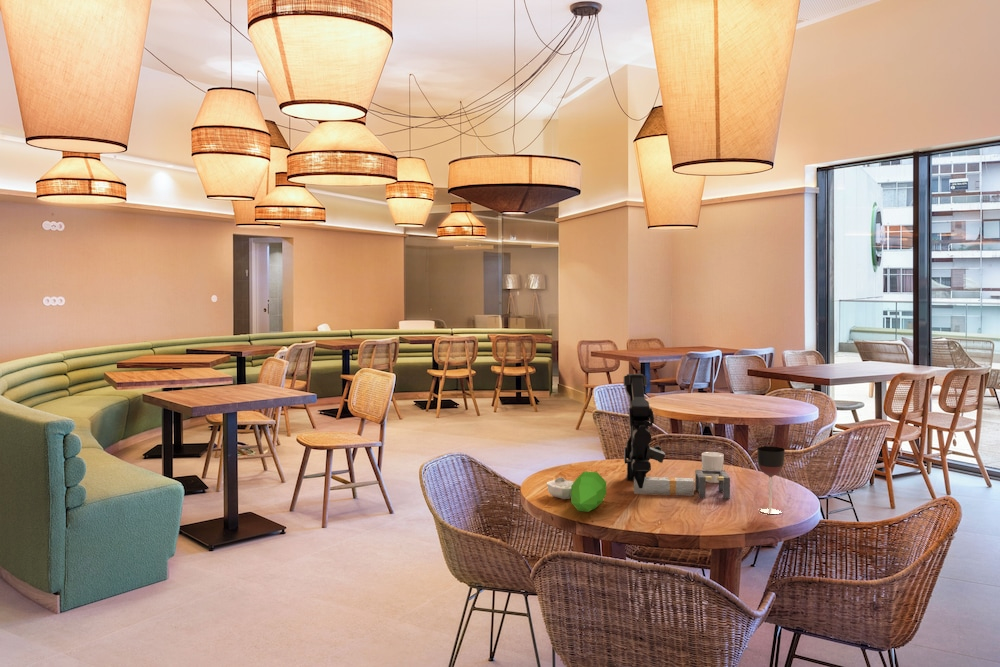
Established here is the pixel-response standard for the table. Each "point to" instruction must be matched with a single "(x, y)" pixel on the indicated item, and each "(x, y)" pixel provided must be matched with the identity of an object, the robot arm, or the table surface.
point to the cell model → (560, 488)
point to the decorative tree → (588, 491)
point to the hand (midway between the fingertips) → (639, 484)
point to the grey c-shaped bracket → (701, 479)
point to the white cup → (712, 464)
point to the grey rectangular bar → (665, 486)
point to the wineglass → (770, 468)
